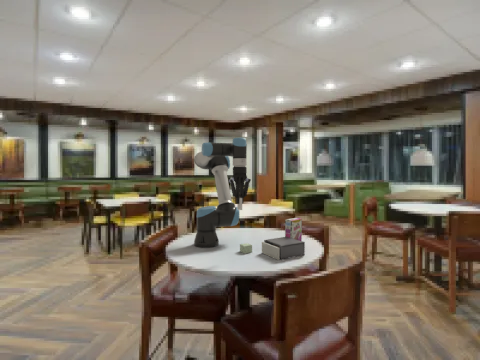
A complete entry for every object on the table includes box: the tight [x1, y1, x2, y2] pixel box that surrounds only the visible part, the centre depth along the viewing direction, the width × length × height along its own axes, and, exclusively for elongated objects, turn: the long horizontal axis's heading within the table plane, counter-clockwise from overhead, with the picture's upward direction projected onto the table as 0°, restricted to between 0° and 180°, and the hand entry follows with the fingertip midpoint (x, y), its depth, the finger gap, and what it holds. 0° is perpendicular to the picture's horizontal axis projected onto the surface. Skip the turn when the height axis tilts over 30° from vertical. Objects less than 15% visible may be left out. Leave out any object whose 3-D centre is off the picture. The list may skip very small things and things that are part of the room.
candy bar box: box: [284, 217, 303, 241], centre depth 176 cm, size 11×5×16 cm, turn 135°
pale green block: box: [239, 242, 253, 254], centre depth 164 cm, size 5×5×4 cm
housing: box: [263, 236, 306, 261], centre depth 160 cm, size 16×15×7 cm
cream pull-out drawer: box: [261, 241, 281, 261], centre depth 159 cm, size 16×15×6 cm
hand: (239, 209), depth 159 cm, fingers closed
